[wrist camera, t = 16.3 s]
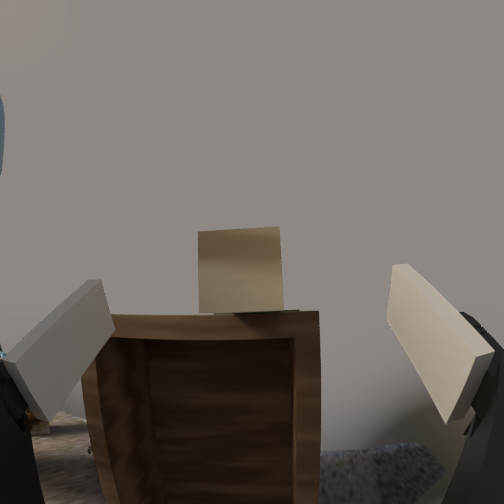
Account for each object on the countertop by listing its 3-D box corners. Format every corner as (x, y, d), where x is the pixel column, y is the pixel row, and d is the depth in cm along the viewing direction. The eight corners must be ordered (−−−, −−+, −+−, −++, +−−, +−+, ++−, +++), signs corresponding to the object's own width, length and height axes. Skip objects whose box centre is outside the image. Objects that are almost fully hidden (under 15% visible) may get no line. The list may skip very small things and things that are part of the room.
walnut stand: (311, 567, 18) (318, 308, 24) (122, 547, 19) (77, 311, 25) (304, 506, 31) (303, 309, 37) (158, 498, 33) (137, 313, 39)
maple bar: (283, 310, 14) (279, 226, 15) (199, 313, 14) (198, 231, 15) (279, 310, 37) (277, 278, 38) (246, 312, 38) (245, 280, 39)
